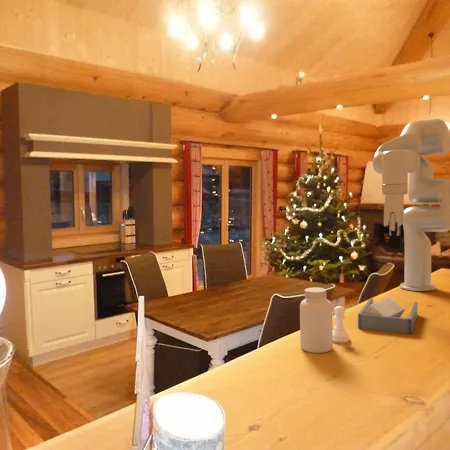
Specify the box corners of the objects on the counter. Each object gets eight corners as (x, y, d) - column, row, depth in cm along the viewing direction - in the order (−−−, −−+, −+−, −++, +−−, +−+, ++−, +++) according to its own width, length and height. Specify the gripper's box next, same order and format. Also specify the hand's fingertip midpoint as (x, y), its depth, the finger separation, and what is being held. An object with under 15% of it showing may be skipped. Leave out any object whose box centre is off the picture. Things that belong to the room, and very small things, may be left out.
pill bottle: (297, 351, 112) (296, 292, 111) (304, 341, 119) (303, 285, 118) (329, 355, 109) (329, 294, 108) (334, 344, 116) (334, 286, 115)
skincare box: (383, 306, 140) (361, 315, 132) (390, 295, 137) (368, 303, 129) (399, 320, 136) (378, 330, 128) (407, 309, 134) (386, 318, 126)
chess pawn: (326, 338, 121) (325, 305, 121) (342, 335, 123) (342, 303, 122) (336, 344, 117) (336, 309, 116) (353, 341, 118) (353, 307, 117)
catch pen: (370, 310, 147) (370, 298, 146) (417, 314, 140) (417, 302, 140) (358, 328, 129) (358, 314, 129) (411, 334, 122) (411, 319, 122)
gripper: (385, 189, 150) (385, 244, 152) (378, 191, 137) (378, 251, 139) (409, 188, 147) (409, 244, 149) (404, 190, 134) (405, 252, 136)
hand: (394, 247), depth 144 cm, fingers closed
